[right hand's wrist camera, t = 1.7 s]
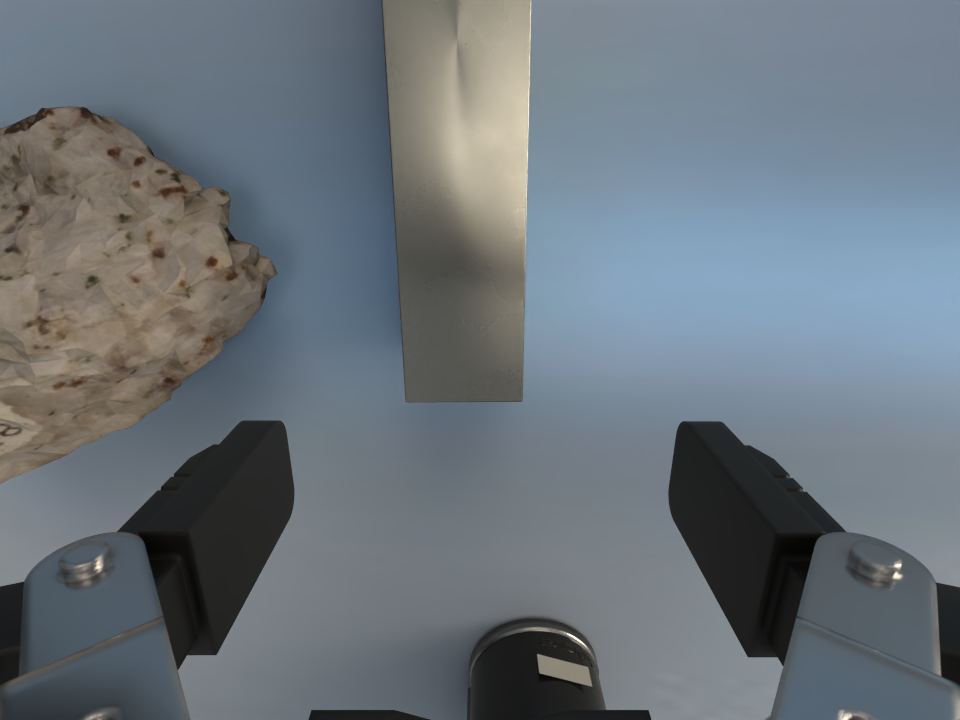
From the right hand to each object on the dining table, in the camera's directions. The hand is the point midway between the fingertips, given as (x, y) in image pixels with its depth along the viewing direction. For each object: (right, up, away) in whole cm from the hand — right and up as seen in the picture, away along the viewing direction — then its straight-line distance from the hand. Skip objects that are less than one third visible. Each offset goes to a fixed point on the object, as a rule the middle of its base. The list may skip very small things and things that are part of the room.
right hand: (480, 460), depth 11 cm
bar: (-1, +16, +16) cm, 22 cm away
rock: (-20, +8, +19) cm, 28 cm away
